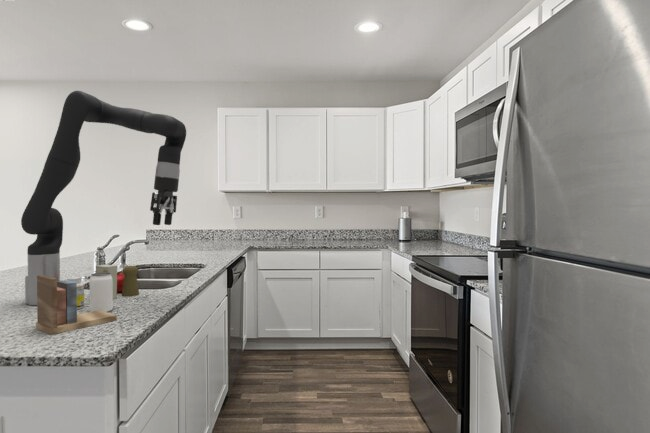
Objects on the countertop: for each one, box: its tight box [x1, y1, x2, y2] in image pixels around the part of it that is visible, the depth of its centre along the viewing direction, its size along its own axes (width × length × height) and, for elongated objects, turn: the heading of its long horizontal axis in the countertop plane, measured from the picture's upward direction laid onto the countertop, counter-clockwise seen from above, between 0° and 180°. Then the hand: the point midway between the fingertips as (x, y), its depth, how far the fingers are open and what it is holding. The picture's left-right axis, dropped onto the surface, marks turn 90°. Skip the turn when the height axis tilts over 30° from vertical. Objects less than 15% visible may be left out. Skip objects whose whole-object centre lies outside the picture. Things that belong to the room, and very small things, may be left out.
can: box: [89, 272, 114, 313], centre depth 130 cm, size 6×6×12 cm
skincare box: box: [95, 264, 118, 299], centre depth 148 cm, size 6×4×12 cm
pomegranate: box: [117, 271, 124, 294], centre depth 160 cm, size 10×10×9 cm
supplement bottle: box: [66, 276, 85, 310], centre depth 134 cm, size 6×6×10 cm
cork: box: [121, 265, 140, 297], centre depth 155 cm, size 6×6×11 cm
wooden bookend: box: [35, 275, 117, 336], centre depth 116 cm, size 17×10×14 cm, turn 144°
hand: (162, 224), depth 136 cm, fingers open, 8 cm apart
